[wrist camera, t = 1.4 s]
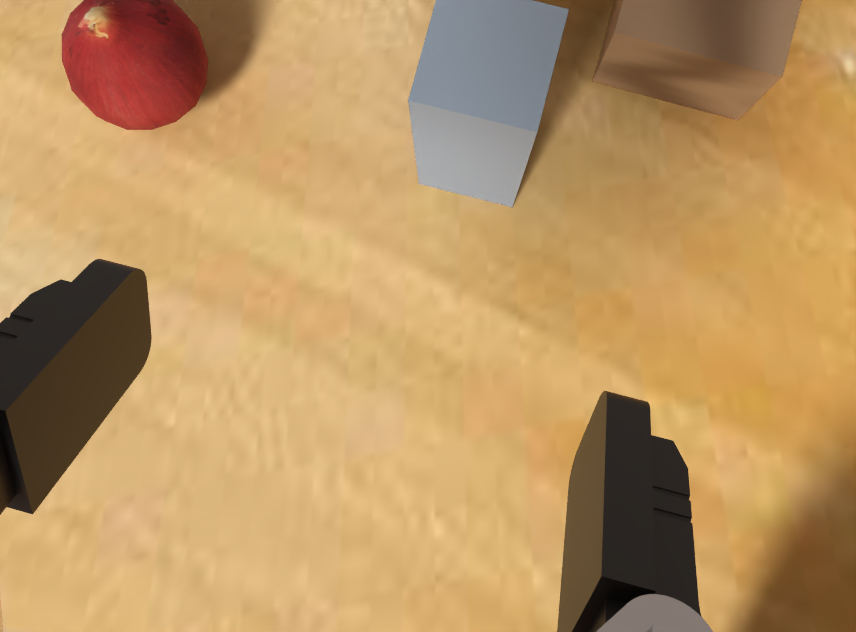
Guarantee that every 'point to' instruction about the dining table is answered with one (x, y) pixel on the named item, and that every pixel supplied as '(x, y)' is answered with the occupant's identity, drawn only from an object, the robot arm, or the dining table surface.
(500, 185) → the pillar
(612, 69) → the walnut block
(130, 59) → the onion
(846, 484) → the dining table surface
